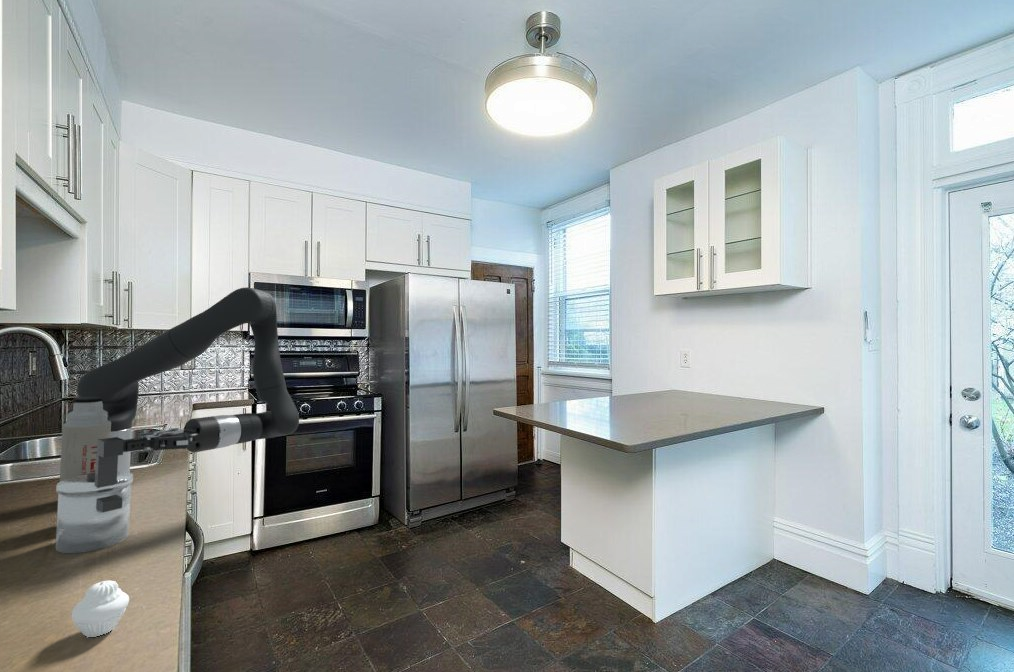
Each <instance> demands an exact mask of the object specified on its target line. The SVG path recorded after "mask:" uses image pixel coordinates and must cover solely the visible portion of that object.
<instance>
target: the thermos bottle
mask: <svg viewBox="0 0 1014 672" xmlns="http://www.w3.org/2000/svg"><path fill="white" fill-rule="evenodd" d="M102 401H103V397H75V398H73V399H72V403H74V404H73V406H72V409H73V410H72V411H70V412H68V413H67V414H66V422H65V423H63V424H62V427H61V429H62V430H61V447H60V448H61V450H60V464H59V465H60V468H59V469H60V470H59V482H61V481H63V480H66V479H69V478H73V477H77V476H81V475H87V474H89V473H94V472H95V463H96V454H97V443H98V439H105V438H110V435H111V421H109V420H107V417H108V415H107V414H108V412H107V411H105V410H103V403H102Z"/></svg>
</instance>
